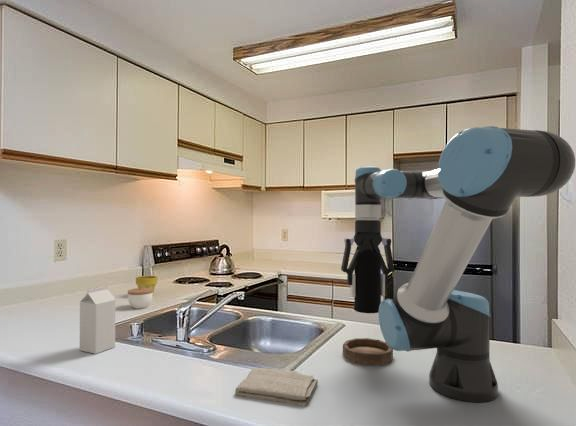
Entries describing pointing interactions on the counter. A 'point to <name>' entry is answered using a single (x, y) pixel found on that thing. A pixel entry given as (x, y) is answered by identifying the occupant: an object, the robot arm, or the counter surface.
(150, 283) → the plant pot
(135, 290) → the lidded jar
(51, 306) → the counter surface
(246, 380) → the washcloth
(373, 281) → the aerosol can
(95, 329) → the milk carton
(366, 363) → the round tray
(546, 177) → the robot arm
